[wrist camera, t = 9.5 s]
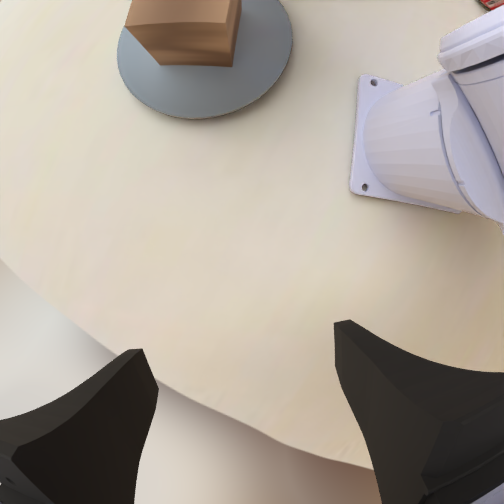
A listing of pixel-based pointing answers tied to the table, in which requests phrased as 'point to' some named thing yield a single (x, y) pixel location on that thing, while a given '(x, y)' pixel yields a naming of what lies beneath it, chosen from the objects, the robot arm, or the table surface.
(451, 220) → the table surface
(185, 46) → the block
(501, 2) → the soda can
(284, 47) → the dish
